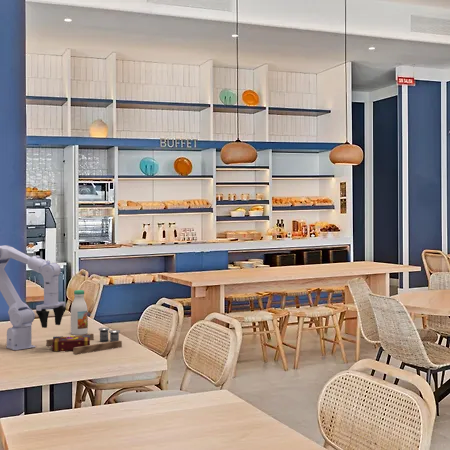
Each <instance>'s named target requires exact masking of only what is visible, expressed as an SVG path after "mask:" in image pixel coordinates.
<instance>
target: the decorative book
mask: <svg viewBox="0 0 450 450" xmlns="http://www.w3.org/2000/svg"><path fill="white" fill-rule="evenodd" d="M52 339H53V344H52V345H51V346H50V348H51V347H52V352H60V351H65V352H69V351H70V352H73V348H74V347H81V346H87V345H91V343H90V342H91V340H90V335H86V336H78V335H69V336H63V335H61V336H53V337H52Z"/></svg>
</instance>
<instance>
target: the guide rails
mask: <svg viewBox="0 0 450 450" xmlns="http://www.w3.org/2000/svg"><path fill="white" fill-rule="evenodd" d="M86 335H90V341H94V337H95V335H94V333H87V334H83V335H77V336H86ZM122 343H123V341H122V340H119V341H113V342H110V341H108V342H100V343H95V344H94V343H93V344H90V345H87V346H81V347H74V348H73V351H72V354H73V355H80V354H81V353H82V354H87V352H88V353H93V351H94V352H100V351H106V350H112V348H113V349H118V347H119V348H122V347H123V344H122ZM52 344H53V338H51V339H46V346H47V347H51V345H52Z"/></svg>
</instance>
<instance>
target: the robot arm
mask: <svg viewBox="0 0 450 450" xmlns="http://www.w3.org/2000/svg"><path fill="white" fill-rule="evenodd" d="M10 259H12V260H16V261H17V262H20V263H22V264H25V265H27V268H28V269H29V270H31V271H33V272H36V273H38V274H41V276H42V278H43V303H42V304H38V305H36V306H35V307H36V310H35V312H34V311H33V309H32V308H31V307H29V305H28V304H27V303H25V302H23V301H22V299H21V297H20V295H19V293H18V292H17V290H16V288H15V286H14V285H13V283H12V281H11V279H10V278H9V275H8V273H7V272H6V270H5V267H6V266H7V264H8V263H9V261H10ZM61 273H62V268H61V266H60V265H59V264H58V263H57V262H52V263H51V261H50V260H46V259H43V258H42V257H41V256H40V255H33V256H30V255H27V254H26V253H24V252H22V251H20V250H18V249H16V248H15V247H13V246H11V245H7V244H4V245H0V293H1V295H2V297H3V299H4V300H5V303H6V304H7V306H8V311H7V314H8V317H9V322H10V324H11V325H12V326H11V327H9V328H7V329H6V346H5V347H6V349H10V350H12V351H19V350H27V349H33V348H36V345H33V344H32V337H33V336H32V334H33V333H32V325H33V322H34V321H35V318H36V314H37V316H38V318H39V321H40V325H41V329H42V328H44V329H47V328H48V321H49V320H48V318H49V314H50V311H49V310H50V309H52V310H53V315H54V324H55V325H56V326H61V323H62V319H63V316H64V313H65V312H66V309H67V307H66V301H59V276H60V275H61ZM35 313H36V314H35Z"/></svg>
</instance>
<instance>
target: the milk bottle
mask: <svg viewBox="0 0 450 450" xmlns="http://www.w3.org/2000/svg"><path fill="white" fill-rule="evenodd" d="M73 291H74V292H73V293H74V294H73V295H74V299H73V301H72V303H71V307H70V335H72V336H78V335H85V334H89V333H88V330H89V328H88V327H89V325H88V324H89V320H88V319H89V317H88V316H89V313H88V310H89V309H88V305H87V303H86V300H85V290H83V289H77V290H76V289H75V290H73Z"/></svg>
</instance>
